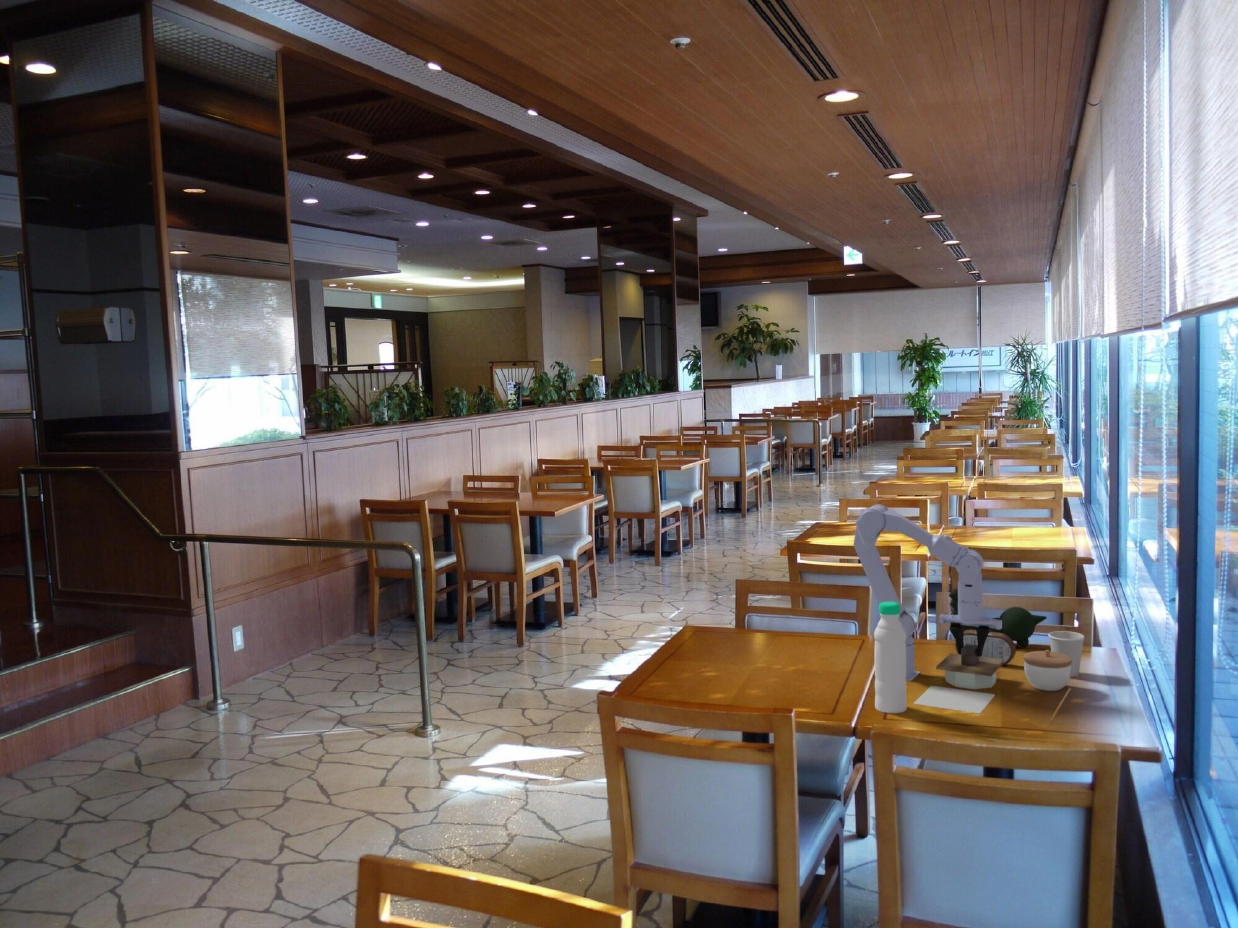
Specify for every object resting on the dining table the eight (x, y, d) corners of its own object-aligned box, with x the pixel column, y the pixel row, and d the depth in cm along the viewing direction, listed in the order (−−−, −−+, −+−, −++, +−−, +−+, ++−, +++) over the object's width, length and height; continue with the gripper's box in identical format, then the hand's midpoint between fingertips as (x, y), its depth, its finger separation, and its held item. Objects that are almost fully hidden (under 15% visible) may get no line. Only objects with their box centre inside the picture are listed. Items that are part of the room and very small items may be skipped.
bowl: (941, 686, 243) (941, 668, 242) (953, 674, 252) (953, 656, 252) (988, 692, 237) (988, 674, 236) (999, 679, 246) (999, 662, 246)
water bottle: (901, 716, 222) (900, 607, 220) (870, 712, 226) (869, 604, 224) (910, 707, 228) (909, 601, 226) (880, 703, 232) (878, 598, 230)
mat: (913, 705, 230) (913, 703, 230) (931, 687, 242) (931, 685, 242) (979, 715, 222) (979, 713, 222) (995, 695, 234) (995, 694, 234)
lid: (936, 669, 242) (936, 650, 241) (950, 655, 253) (950, 637, 252) (991, 676, 235) (991, 656, 234) (1003, 662, 246) (1003, 643, 245)
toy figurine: (952, 651, 278) (1048, 651, 267) (945, 585, 277) (1041, 582, 266) (957, 643, 286) (1050, 642, 275) (950, 578, 286) (1043, 575, 274)
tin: (1016, 665, 258) (1016, 633, 257) (1013, 668, 255) (1013, 636, 255) (957, 658, 266) (956, 627, 265) (954, 661, 263) (953, 630, 263)
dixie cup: (1064, 667, 254) (1064, 629, 254) (1092, 675, 247) (1092, 636, 246) (1040, 672, 251) (1040, 633, 250) (1068, 680, 243) (1068, 641, 243)
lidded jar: (1076, 696, 232) (1076, 657, 231) (1028, 694, 234) (1028, 656, 233) (1065, 682, 242) (1065, 644, 242) (1019, 680, 245) (1019, 643, 244)
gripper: (935, 601, 243) (936, 654, 244) (997, 606, 235) (997, 662, 236) (943, 595, 249) (944, 647, 250) (1003, 600, 241) (1004, 654, 242)
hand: (970, 654), depth 244 cm, fingers open, 4 cm apart
